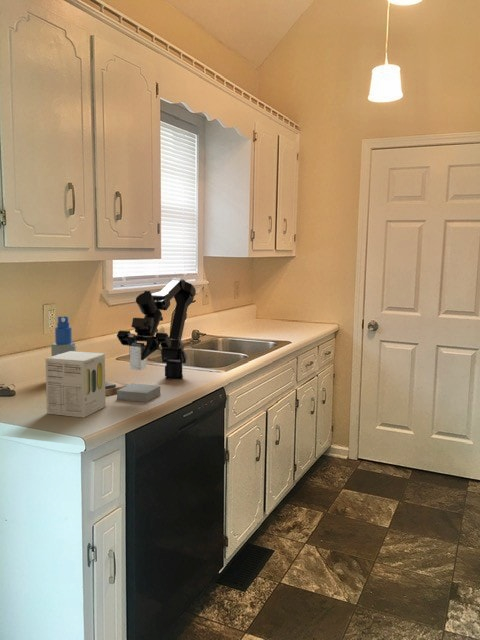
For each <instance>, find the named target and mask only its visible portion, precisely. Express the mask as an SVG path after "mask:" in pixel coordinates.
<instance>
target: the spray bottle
mask: <svg viewBox="0 0 480 640" xmlns="http://www.w3.org/2000/svg"><path fill="white" fill-rule="evenodd" d="M54 333H55V334H54V336H55V341H54V342H53V343H51V346H50V347H51V350H50V351H51V357H52V356H55V355H58V354H62V353H65V352H69V351H77V345H76V342H74V341H72V339H73V337H72V334H73V333H72V327H71V326H70V322H69V316H68V315H65V316H60V315H58V316H57V323H56V327H54Z"/></svg>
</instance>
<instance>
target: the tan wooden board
mask: <svg viewBox="0 0 480 640" xmlns="http://www.w3.org/2000/svg"><path fill="white" fill-rule="evenodd" d="M128 385H129V384H127V383H125V382H121V381H117V380H116V381H112V382H109V381H108V382H107V381H105V397H106V396H111V395H117V390H119V389H121V388H123V387H125V386H128Z"/></svg>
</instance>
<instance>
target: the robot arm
mask: <svg viewBox="0 0 480 640" xmlns="http://www.w3.org/2000/svg"><path fill="white" fill-rule="evenodd" d="M169 281H170V282H168V283H167V284H166V286H164V287H163V288H162V289H161V290H160V291H157V292H153V293H152V292H151V291H150V290H144V292H142V293H140V294H139V295H138V296H136V298H135V303H136V304H137V306H138V309H139V310H140V312H141V314H143V315H144V316H143V317H133V318H132V323H131V328H134V332H135V333H136V334H135V333H131V331H130V330H122V329H121V330H118V332H117V333H116V338H117V339H118V341H119V342H120V344H121V345H122V346H126V347H127V346H128V347H129V348H130V346H132V343H135V342H136V343H146V344H145V345H146V347H145V349H144V352H143V354H142V357H141V359H142V360H144V359H145V358H146V359H147V358H148V357H149V356H150V355H151V354H152V353H154V352H155V351H157V350H160V347H161V351H160V354H161V355H160V356H161V362H162V363H166V364H165V365H164V377H165V379H167V380H174V379H175V380H182V379H183V377H184V374H183V364H187V359H188V356H187V354H186V352H185V350H184V348H185V346H184V343H183V342H182V338H183V333H184V327H185V322H186V318H187V312H188V308H189V306H190V305H191V304H192V303H193V302H194V299H195V296H196V293H197V292H196V291H197V290H196V288H195V286H194V285H193V284H192V283H189V282H187V281H186V280H185V279H184V278H171V279H170V280H169ZM172 299H174V301H175V303H176V304H175V308H174V313H173V317H172V323H171V329H170V332H169V334H168V333H167V332H159V329H158V327H159V324H160V322H163V321H164V317H163V313H162V311H167V310H168V309H169V308H170V306H171V300H172Z"/></svg>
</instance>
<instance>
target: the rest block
mask: <svg viewBox="0 0 480 640" xmlns="http://www.w3.org/2000/svg"><path fill="white" fill-rule="evenodd" d="M160 395H161V385H157V384H143V383H133V382H132V383H130V384H128V386H125V387H123V388H121V389H119V390H117V393H116V400H121V401H132V402H142V403H147V402H149V401H151V400H153V399H155V398H156V397H158V396H160Z"/></svg>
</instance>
